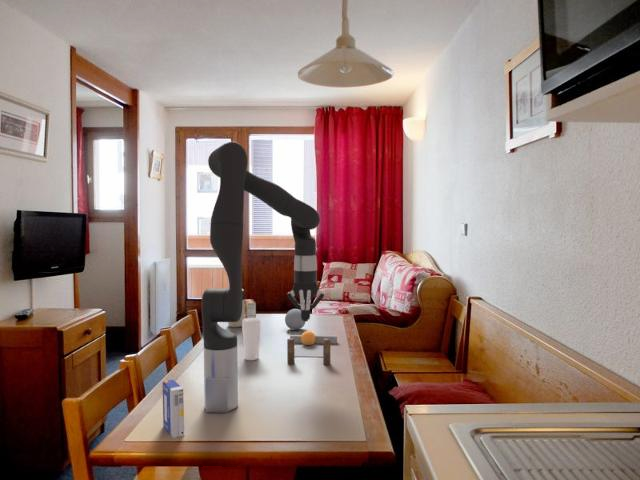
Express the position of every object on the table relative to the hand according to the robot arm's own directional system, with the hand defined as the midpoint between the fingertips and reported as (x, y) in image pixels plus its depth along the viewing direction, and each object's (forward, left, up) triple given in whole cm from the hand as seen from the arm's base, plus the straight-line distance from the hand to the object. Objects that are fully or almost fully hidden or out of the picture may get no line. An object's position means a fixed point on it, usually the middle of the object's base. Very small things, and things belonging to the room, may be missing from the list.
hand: (305, 320), depth 148 cm
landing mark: (+29, 0, -19) cm, 35 cm away
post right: (+14, -6, -19) cm, 24 cm away
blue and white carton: (-39, +30, -19) cm, 53 cm away
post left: (+14, +7, -19) cm, 25 cm away
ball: (+38, +2, -16) cm, 41 cm away
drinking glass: (+19, +22, -19) cm, 35 cm away
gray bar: (+42, 0, -19) cm, 46 cm away
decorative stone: (+64, +10, -19) cm, 68 cm away
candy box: (+56, +30, -19) cm, 66 cm away
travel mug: (+71, +40, -19) cm, 84 cm away
